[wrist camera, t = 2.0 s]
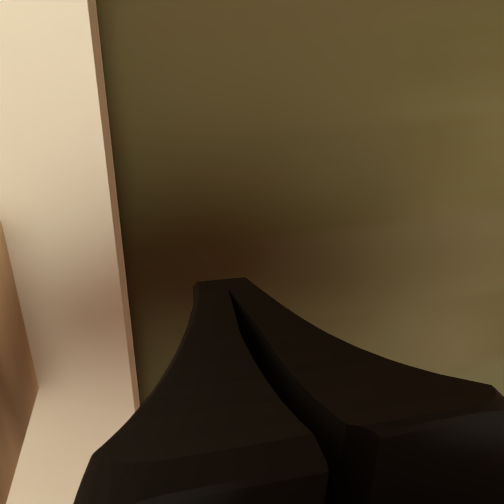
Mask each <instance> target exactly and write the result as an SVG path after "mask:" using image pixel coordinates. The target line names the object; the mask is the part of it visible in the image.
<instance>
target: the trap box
mask: <svg viewBox="0 0 504 504" xmlns="http://www.w3.org/2000/svg"><path fill="white" fill-rule="evenodd" d="M0 221H1V223H2V227H3V232H4V236H5V241H6V245H7V250H8V254H9V258H10V263H11V267H12V272H13V276H14V281H15V285H16V289H17V294H18V298H19V303H20V307H21V312H22V316H23V321H24V325H25V329H26V334H27V338H28V343H29V347H30V352H31V356H32V360H33V365H34V369H35V374H36V378H37V383H38V387H39V389H38V393H37V397H36V400H35V404H34V407H33V411H32V414H31V418H30V421H29V425H28V428H27V432H26V435H25V439H24V442H23V446H22V449H21V453H20V456H19V460H18V463H17V467H16V470H15V474H14V477H13V481H12V484H11V488H10V491H9V495H8V498H7V502H6V504H73V503H74V500H75V497H76V494H77V491H78V488H79V486H80V483H81V480H82V478H83V475H84V473H85V470H86V468H87V465H88V463H89V460H90V458H91V456H92V454H93V453H94V452H95V451H96V450H98V449H99V448H100V447H101V446H102V445H103V444H104V443H105V442H106V441H107V440H109V439H110V438H111V437H112V436H113V435H114V434H115V433H116V432H117V431H118V430H119V429H120V428H121V427H122V426H123V425H124V424H125V423H126V422H127V421H128V420H129V419H130V417H131V416H132V415H133V414H134V413H135V412H136V410H137V409H138V408H139V407H140V401H139V392H138V383H137V374H136V365H135V355H134V346H133V337H132V328H131V319H130V310H129V301H128V291H127V282H126V273H125V264H124V255H123V246H122V236H121V227H120V218H119V209H118V200H117V191H116V182H115V172H114V163H113V154H112V145H111V136H110V127H109V117H108V108H107V99H106V90H105V81H104V72H103V63H102V53H101V44H100V35H99V26H98V17H97V8H96V0H0Z"/></svg>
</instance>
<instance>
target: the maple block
mask: <svg viewBox="0 0 504 504" xmlns="http://www.w3.org/2000/svg"><path fill="white" fill-rule="evenodd" d="M38 389H39V387H38V383H37V378H36V374H35V369H34V365H33V360H32V356H31V352H30V347H29V343H28V338H27V334H26V329H25V325H24V321H23V316H22V312H21V307H20V303H19V298H18V294H17V289H16V285H15V281H14V276H13V272H12V267H11V263H10V258H9V254H8V250H7V245H6V241H5V236H4V232H3V227H2V223H1V221H0V504H6V502H7V498H8V495H9V491H10V488H11V484H12V481H13V477H14V474H15V470H16V467H17V463H18V460H19V456H20V453H21V449H22V446H23V442H24V439H25V435H26V432H27V428H28V425H29V421H30V418H31V414H32V411H33V407H34V404H35V400H36V397H37V393H38Z"/></svg>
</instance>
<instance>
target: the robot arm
mask: <svg viewBox="0 0 504 504" xmlns="http://www.w3.org/2000/svg"><path fill="white" fill-rule="evenodd" d="M193 296H194V303H193V309H192V312H191V316H190V319H189V323H188V326H187V328H186V331H185V333H184V336H183V338H182V341H181V343H180V346H179V348H178V350H177V352H176V354H175V356H174V358H173V359H172V361H171V363H170V365H169V367H168V368H167V370H166V371H165V373H164V374H163V376H162V378H161V379H160V381H159V382H158V384H157V385H156V387H155V388H154V389H153V391H152V392H151V393H150V395H149V396H148V397H147V399H146V400H145V401H144V402H143V403H142V404H141V406H140V407H139V408H138V409H137V410H136V412H135V413H134V414H133V415H132V416H131V417H130V419H129V420H128V421H127V422H126V423H125V424H124V425H123V426H122V427H121V428H120V429H119V430H118V431H117V432H116V433H115V434H114V435H113V436H112V437H111V438H110V439H109V440H107V441H106V442H105V443H104V444H103V445H102V446H101V447H100V448H99V449H98V450H96V451H95V452H94V453H93V454H92V456H91V458H90V460H89V463H88V465H87V468H86V470H85V473H84V475H83V478H82V480H81V483H80V486H79V488H78V491H77V494H76V497H75V500H74V503H73V504H504V396H502V395H501V394H500V393H499V392H498V391H497V390H496V389H495V388H494V387H493V386H492V385H488V384H483V383H479V382H474V381H469V380H464V379H459V378H455V377H450V376H445V375H440V374H436V373H433V372H429V371H426V370H422V369H418V368H415V367H411V366H408V365H405V364H402V363H398V362H395V361H392V360H389V359H386V358H384V357H381V356H378V355H376V354H373V353H371V352H368V351H365V350H363V349H360V348H358V347H356V346H353V345H351V344H349V343H347V342H345V341H343V340H341V339H338V338H336V337H334V336H332V335H330V334H328V333H326V332H324V331H323V330H321V329H319V328H317V327H315V326H314V325H312V324H310V323H309V322H307V321H305V320H304V319H302V318H301V317H299V316H297V315H296V314H294V313H293V312H291V311H290V310H288V309H287V308H285V307H284V306H283V305H281V304H280V303H278V302H277V301H276V300H274V299H273V298H271V297H270V296H269V295H267V294H266V293H265V292H263V291H262V290H261V289H259V288H258V287H257V286H256V285H254V284H253V283H252V282H250V281H249V280H247V279H246V278H234V279H223V280H212V281H202V282H197V283H196V284H195V285H194V286H193Z"/></svg>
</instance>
